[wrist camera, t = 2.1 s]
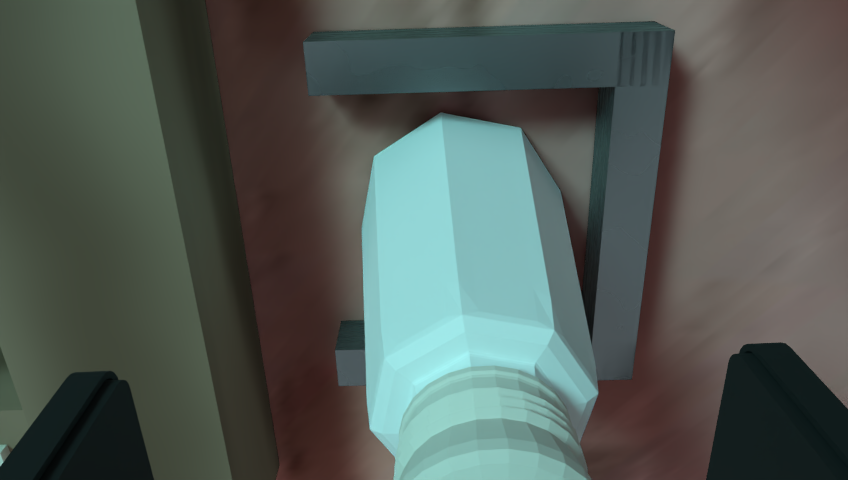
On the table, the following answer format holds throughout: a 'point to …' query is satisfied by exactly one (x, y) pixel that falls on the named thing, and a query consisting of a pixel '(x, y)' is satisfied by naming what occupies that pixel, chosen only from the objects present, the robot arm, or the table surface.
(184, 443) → the socket block
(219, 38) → the table surface
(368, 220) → the salt shaker
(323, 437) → the table surface
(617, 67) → the u-shaped bracket
